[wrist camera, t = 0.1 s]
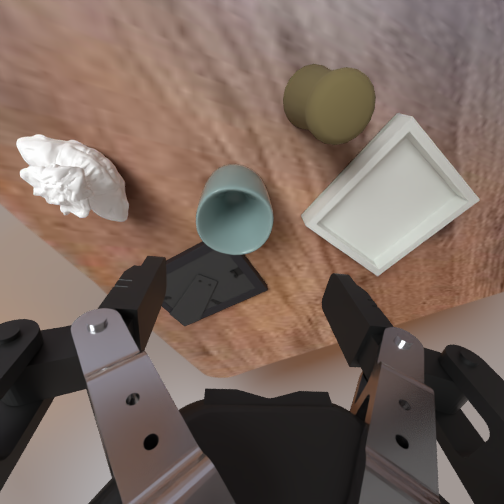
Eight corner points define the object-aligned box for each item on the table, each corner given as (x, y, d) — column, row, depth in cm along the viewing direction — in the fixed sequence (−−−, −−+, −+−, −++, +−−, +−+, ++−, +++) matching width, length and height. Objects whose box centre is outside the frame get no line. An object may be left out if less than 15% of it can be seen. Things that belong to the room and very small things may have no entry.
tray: (397, 112, 28) (412, 116, 26) (462, 190, 34) (480, 199, 32) (300, 215, 35) (305, 225, 33) (369, 264, 41) (377, 276, 39)
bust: (145, 195, 35) (159, 189, 25) (107, 237, 33) (107, 247, 23) (58, 124, 29) (34, 79, 19) (8, 170, 27) (-46, 146, 18)
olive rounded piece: (281, 130, 28) (301, 156, 20) (284, 64, 25) (310, 60, 16) (333, 128, 29) (376, 153, 20) (343, 63, 25) (401, 57, 16)
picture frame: (187, 317, 48) (266, 282, 44) (185, 327, 46) (268, 291, 42) (136, 274, 41) (225, 226, 36) (131, 283, 39) (224, 234, 35)
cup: (272, 165, 31) (285, 197, 23) (256, 218, 35) (261, 261, 27) (210, 148, 29) (200, 177, 21) (201, 206, 34) (190, 248, 26)
